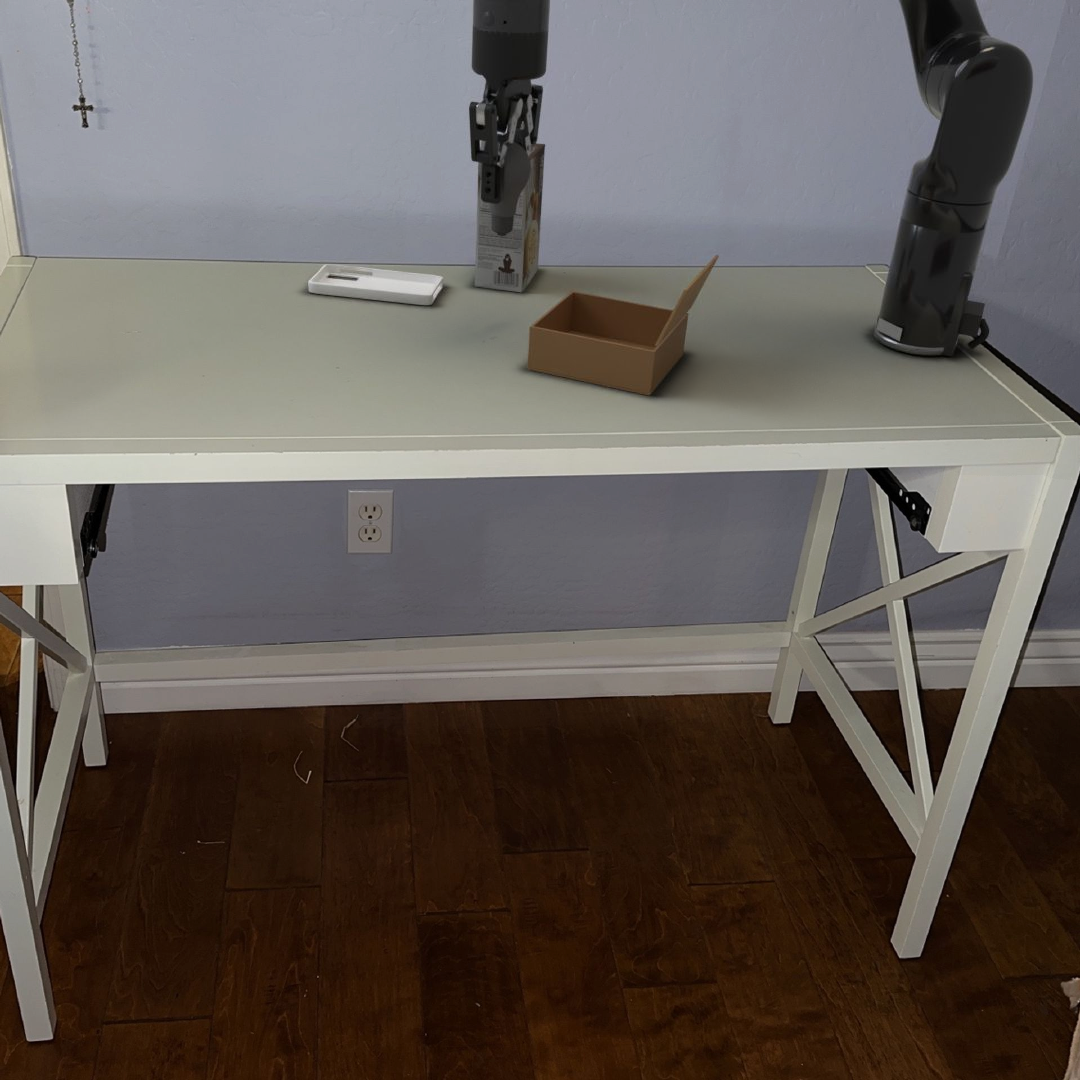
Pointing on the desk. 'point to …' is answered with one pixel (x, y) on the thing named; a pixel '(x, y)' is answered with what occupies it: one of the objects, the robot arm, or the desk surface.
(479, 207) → the coffee box
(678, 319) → the flap
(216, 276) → the desk surface
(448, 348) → the desk surface
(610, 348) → the carton
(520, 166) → the light bulb
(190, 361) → the desk surface
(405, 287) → the phone case
